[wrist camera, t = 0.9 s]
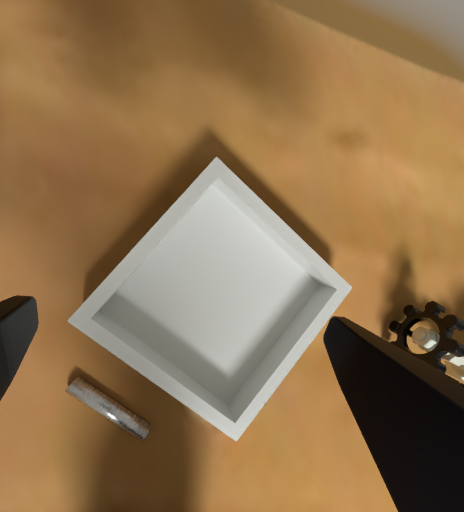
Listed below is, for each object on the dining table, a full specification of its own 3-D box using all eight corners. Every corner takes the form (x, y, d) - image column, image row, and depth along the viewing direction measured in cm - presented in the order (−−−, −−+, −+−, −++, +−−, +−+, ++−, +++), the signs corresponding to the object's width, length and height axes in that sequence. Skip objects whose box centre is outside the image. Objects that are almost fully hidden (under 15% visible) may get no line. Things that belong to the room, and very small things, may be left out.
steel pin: (139, 439, 21) (148, 423, 22) (143, 442, 20) (152, 425, 21) (64, 390, 20) (77, 376, 21) (65, 391, 19) (78, 375, 20)
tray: (227, 416, 23) (236, 441, 20) (82, 310, 20) (66, 321, 17) (330, 282, 25) (352, 287, 22) (210, 168, 22) (216, 156, 19)
